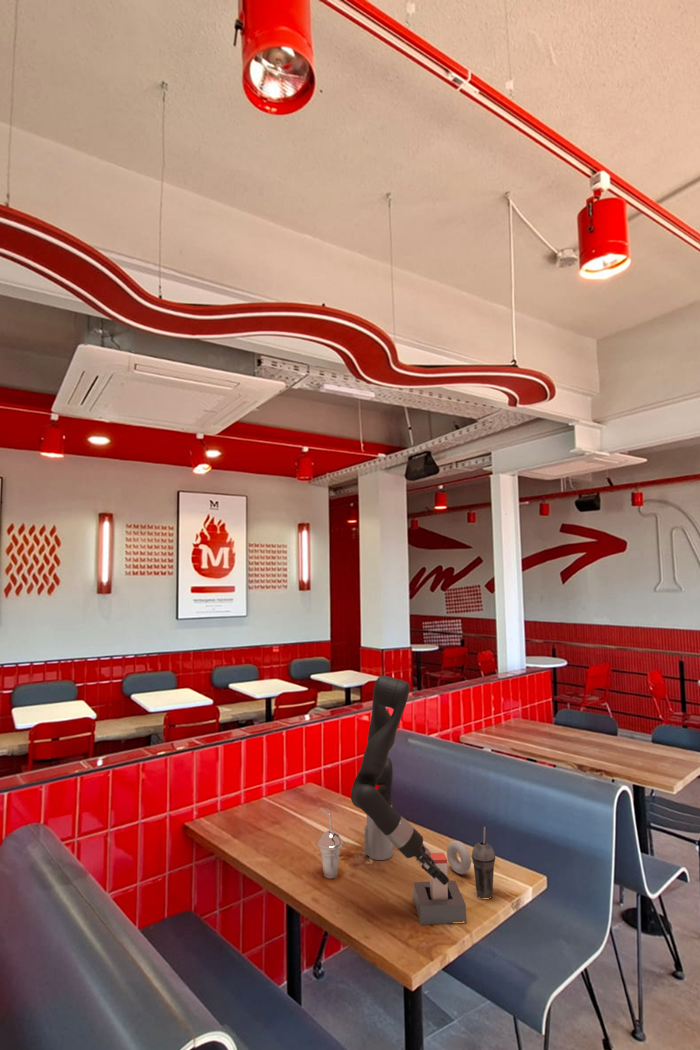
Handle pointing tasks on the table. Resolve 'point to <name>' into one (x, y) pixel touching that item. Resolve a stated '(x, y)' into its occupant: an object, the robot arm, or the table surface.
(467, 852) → the donut
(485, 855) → the beverage cup
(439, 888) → the plug peg
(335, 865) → the cup with straw
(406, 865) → the table surface
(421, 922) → the square socket housing
